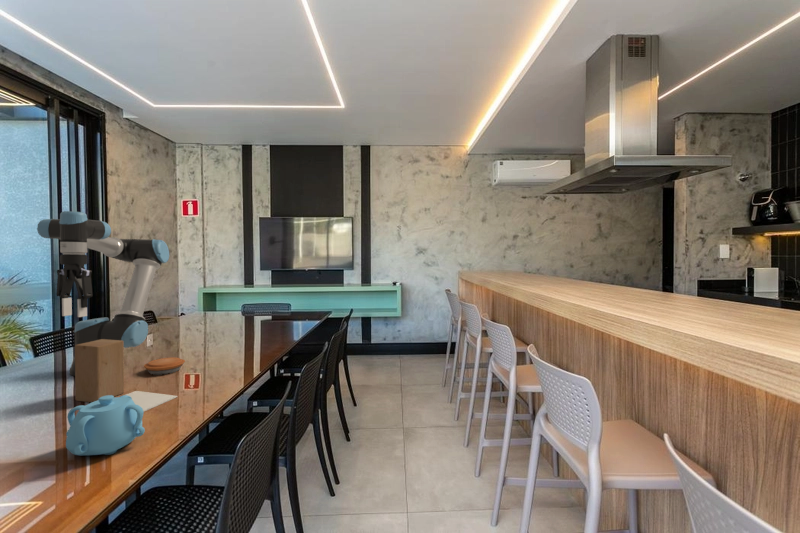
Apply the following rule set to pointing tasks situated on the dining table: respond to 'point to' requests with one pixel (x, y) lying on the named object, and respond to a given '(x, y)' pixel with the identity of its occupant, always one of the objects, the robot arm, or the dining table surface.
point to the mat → (149, 399)
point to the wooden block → (99, 369)
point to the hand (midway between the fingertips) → (74, 315)
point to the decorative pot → (104, 426)
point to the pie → (164, 365)
